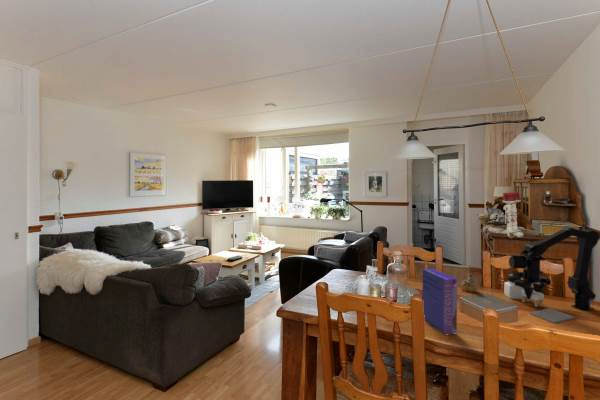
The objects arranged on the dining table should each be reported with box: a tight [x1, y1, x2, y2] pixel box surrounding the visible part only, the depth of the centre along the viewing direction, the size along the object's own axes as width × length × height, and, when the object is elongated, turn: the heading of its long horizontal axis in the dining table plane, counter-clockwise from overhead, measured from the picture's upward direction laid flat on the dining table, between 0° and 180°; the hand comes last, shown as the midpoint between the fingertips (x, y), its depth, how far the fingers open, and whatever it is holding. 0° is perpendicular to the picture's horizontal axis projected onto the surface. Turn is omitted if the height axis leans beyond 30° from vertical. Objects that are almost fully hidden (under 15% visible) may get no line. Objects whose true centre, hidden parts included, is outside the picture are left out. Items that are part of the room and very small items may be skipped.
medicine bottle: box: [503, 274, 524, 300], centre depth 175 cm, size 7×7×12 cm
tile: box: [529, 308, 576, 324], centre depth 150 cm, size 14×11×1 cm
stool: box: [521, 290, 545, 308], centre depth 162 cm, size 5×8×6 cm, turn 19°
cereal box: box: [422, 267, 458, 335], centre depth 141 cm, size 17×5×24 cm, turn 12°
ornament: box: [460, 274, 478, 294], centre depth 185 cm, size 8×6×10 cm
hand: (532, 298), depth 162 cm, fingers closed on stool, 5 cm apart
